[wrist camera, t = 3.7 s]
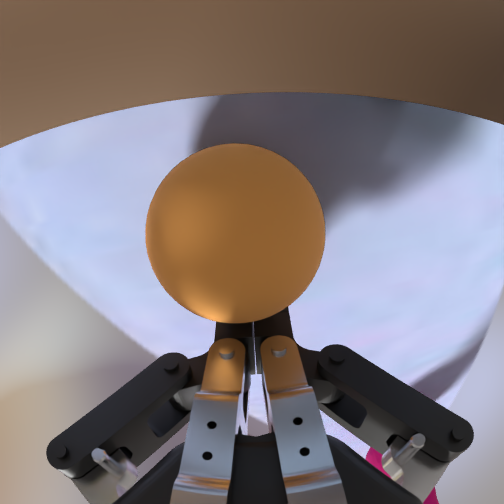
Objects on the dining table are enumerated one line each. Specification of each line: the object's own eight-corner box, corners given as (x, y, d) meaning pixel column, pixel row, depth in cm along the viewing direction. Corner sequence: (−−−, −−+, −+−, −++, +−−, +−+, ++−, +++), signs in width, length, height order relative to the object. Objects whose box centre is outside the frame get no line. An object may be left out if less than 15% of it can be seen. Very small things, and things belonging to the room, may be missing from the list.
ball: (183, 266, 14) (162, 142, 11) (308, 260, 14) (308, 131, 11) (149, 360, 9) (91, 181, 6) (333, 356, 9) (354, 159, 6)
